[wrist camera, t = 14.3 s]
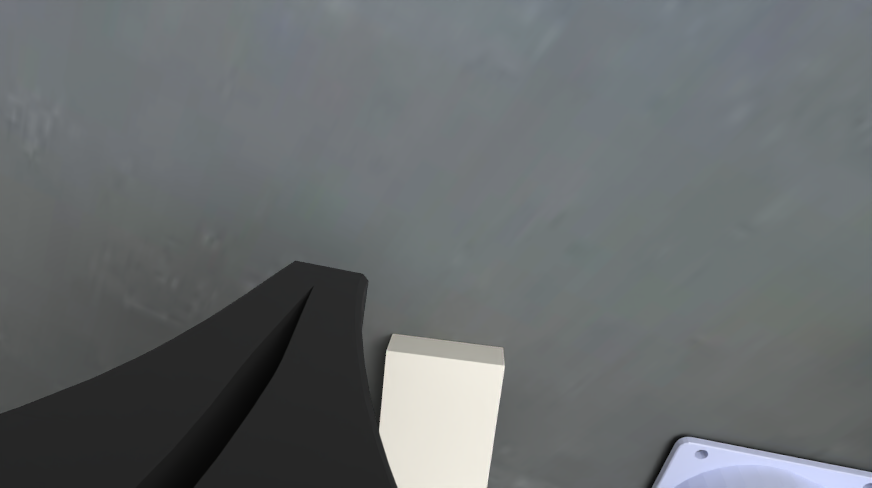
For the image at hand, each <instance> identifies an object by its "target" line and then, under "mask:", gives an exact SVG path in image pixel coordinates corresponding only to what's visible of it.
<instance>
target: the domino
mask: <svg viewBox="0 0 872 488" xmlns="http://www.w3.org/2000/svg"><path fill="white" fill-rule="evenodd" d="M504 368H505V363H504V352H503V348H502V347H494V346H486V345H479V344H471V343H463V342H455V341H447V340H439V339H431V338H424V337H416V336H408V335H400V334H392V337H391V339H390V342H389V345H388V348H387V350H386V361H385V372H384V383H383V394H382V405H381V416H380V427H379V433H380V437H381V440H382V443H383V447H384V450H385V453H386V456H387V460H388V463H389V466H390V468H391V471H392V474H393V476H394V479H395V482H396V484H397V487H398V488H487V483H488V476H489V469H490V463H491V456H492V449H493V442H494V435H495V429H496V422H497V415H498V408H499V402H500V395H501V388H502V381H503V375H504Z"/></svg>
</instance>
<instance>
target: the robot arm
mask: <svg viewBox="0 0 872 488" xmlns="http://www.w3.org/2000/svg"><path fill="white" fill-rule="evenodd" d="M367 287H368V280H367V278H366V277H365V276H364V275H363V274H361V273H356V272H351V271H345V270H340V269H335V268H330V267H325V266H320V265H315V264H310V263H304V262H299V261H294V262H293V263H291V264H290V265H288V266H287V267H285V268H284V269H282V270H281V271H279V272H278V273H276V274H275V275H273V276H272V277H270V278H269V279H267V280H266V281H265V282H263V283H262V284H260V285H259V286H257V287H256V288H254V289H253V290H251V291H250V292H248V293H247V294H245V295H244V296H242V297H241V298H239V299H238V300H236V301H235V302H233V303H232V304H230V305H229V306H227V307H225V308H224V309H222V310H221V311H219V312H218V313H216V314H215V315H213V316H211V317H210V318H208V319H207V320H205V321H203V322H201V323H200V324H198V325H196V326H195V327H193V328H191V329H189V330H188V331H186V332H184V333H182V334H181V335H179V336H177V337H175V338H174V339H172V340H170V341H169V342H167V343H165V344H163V345H161V346H159V347H157V348H155V349H154V350H152V351H150V352H148V353H146V354H144V355H142V356H140V357H138V358H136V359H133V360H131V361H129V362H127V363H125V364H123V365H121V366H118V367H116V368H114V369H112V370H110V371H108V372H105V373H103V374H101V375H99V376H96V377H94V378H92V379H90V380H87V381H85V382H82V383H80V384H77V385H75V386H72V387H69V388H67V389H64V390H62V391H59V392H57V393H54V394H52V395H49V396H47V397H44V398H41V399H39V400H36V401H34V402H31V403H29V404H26V405H24V406H21V407H19V408H16V409H13V410H10V411H7V412H4V413H2V414H0V488H398V487H397V484H396V482H395V479H394V476H393V474H392V471H391V468H390V466H389V463H388V460H387V456H386V453H385V450H384V447H383V443H382V440H381V437H380V433H379V430H378V426H377V422H376V418H375V414H374V410H373V406H372V401H371V397H370V392H369V386H368V381H367V375H366V369H365V361H364V354H363V341H362V325H363V317H364V310H365V302H366V295H367ZM699 450H702V451H699ZM652 488H872V472H867V471H862V470H857V469H852V468H847V467H842V466H837V465H832V464H827V463H821V462H816V461H811V460H806V459H801V458H796V457H791V456H786V455H781V454H776V453H770V452H765V451H760V450H755V449H750V448H745V447H740V446H735V445H730V444H724V443H719V442H714V441H709V440H704V439H699V438H694V437H683V438H681V439H679V440H677V442H676V443H675V444H674V446H673V448H672V450H671V452H670V454H669V456H668V458H667V460H666V461H665V463H664V465H663V467H662V469H661V471H660V473H659V475H658V477H657V479H656V480H655V482H654V484H653V486H652Z"/></svg>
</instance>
